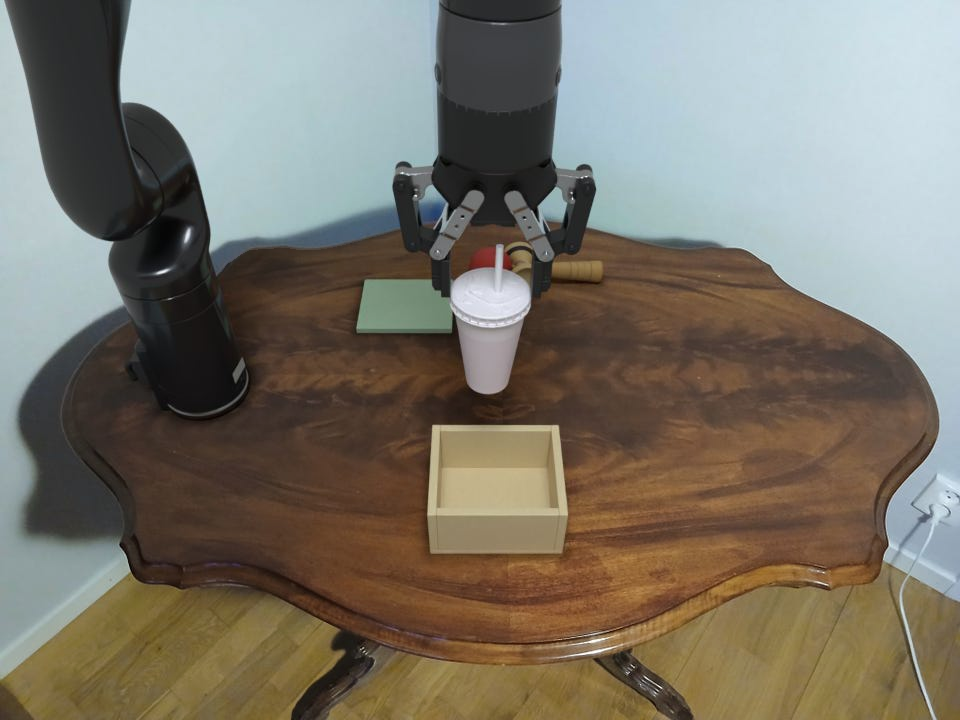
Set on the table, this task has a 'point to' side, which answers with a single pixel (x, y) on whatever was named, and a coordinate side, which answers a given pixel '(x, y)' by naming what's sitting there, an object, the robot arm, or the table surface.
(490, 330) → the smoothie
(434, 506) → the bin
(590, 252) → the table surface
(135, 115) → the robot arm
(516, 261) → the kendama
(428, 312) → the mat
